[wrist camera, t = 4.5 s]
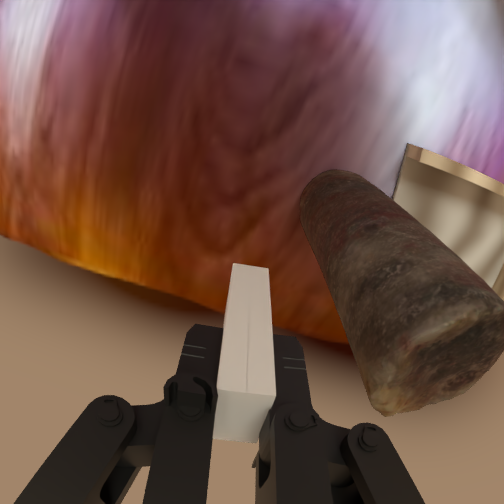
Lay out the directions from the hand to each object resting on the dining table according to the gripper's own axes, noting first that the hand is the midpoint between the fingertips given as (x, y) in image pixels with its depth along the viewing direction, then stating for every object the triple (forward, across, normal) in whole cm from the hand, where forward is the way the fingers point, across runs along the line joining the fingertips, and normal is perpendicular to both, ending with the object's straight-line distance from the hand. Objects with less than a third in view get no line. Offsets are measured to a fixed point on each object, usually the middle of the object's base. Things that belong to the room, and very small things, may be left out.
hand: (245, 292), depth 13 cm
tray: (+15, +24, 0) cm, 28 cm away
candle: (+15, +8, 0) cm, 17 cm away
